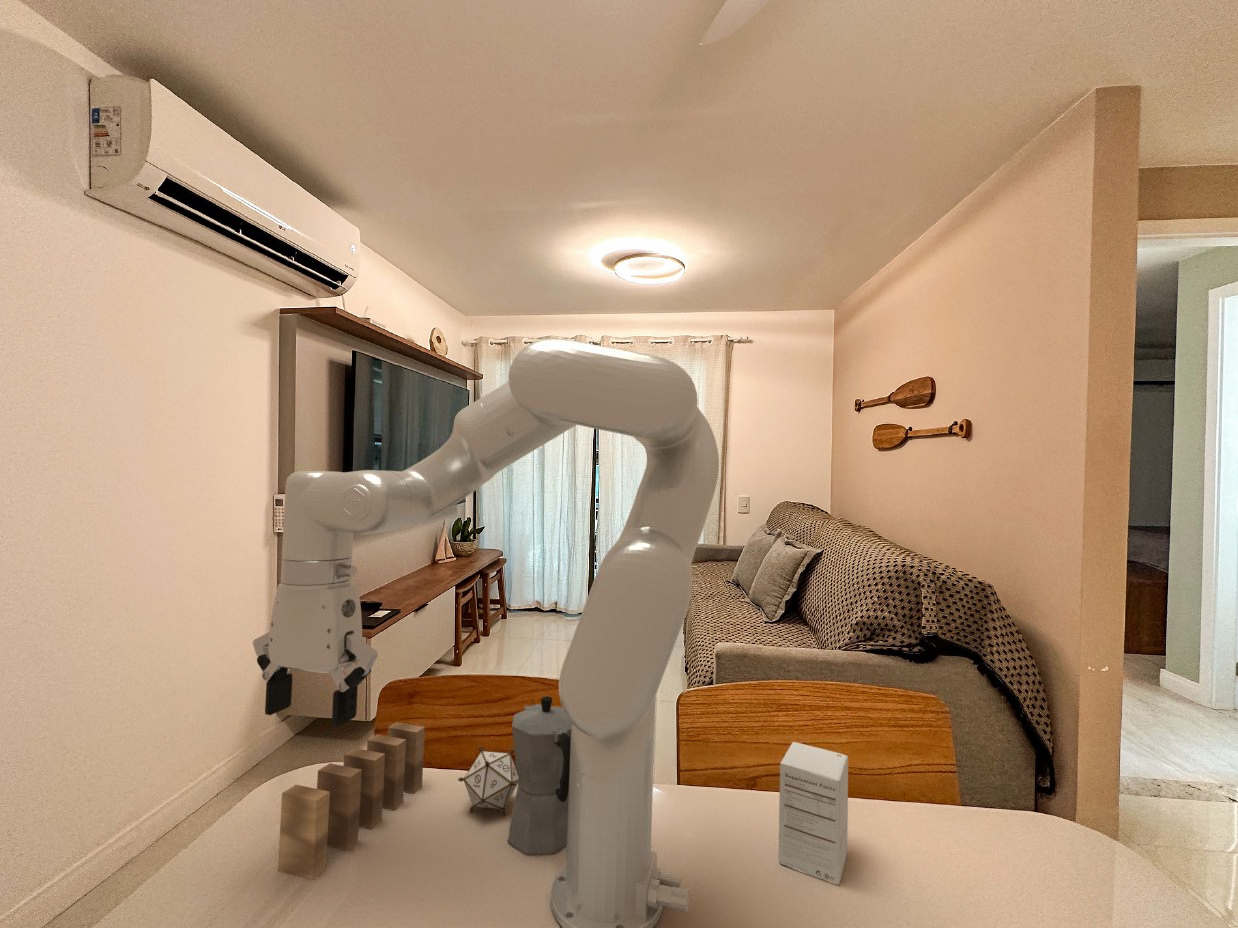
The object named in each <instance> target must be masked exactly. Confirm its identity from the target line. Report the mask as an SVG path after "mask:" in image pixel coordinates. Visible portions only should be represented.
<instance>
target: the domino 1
mask: <svg viewBox="0 0 1238 928" xmlns="http://www.w3.org/2000/svg"><path fill="white" fill-rule="evenodd" d="M329 798H330V792H329V791H324V790H320V789H317V788H313V787H309V786H304V785H300V784H294V785H293V786H291V787H290V788H288V789H287V790H285V791H283V792H282V793H281V805H280V807H281V808H280V824H279V825H280V826H279V827H280V828H279V841H278V842H279V844H278V858H277V859H278V860H277V861H278V863H277V864H278V865H277V872H280V873H285V874H287V875H292V876H295V877H299V878H302V879H306V880H311V881H314V879H316V878H317V877H318V876H319V875H321V873H323V872H324V871H325V870H326V869H327V855H328V853H327V851H328V846H327V837H328V817H329Z"/></svg>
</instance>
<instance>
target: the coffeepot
mask: <svg viewBox="0 0 1238 928" xmlns="http://www.w3.org/2000/svg"><path fill="white" fill-rule="evenodd" d="M552 703H553V697H551V696H542V697H541V698H540V704H538V703H537V704H536V703H534V704H530V705H524V710H522V711H519V712H516V713H515V714H513V718H512V724H511V725H512V726H511V729H512V730H511V731H512V739H513V748H514V759H515V761H514V762H515V767H516V771H517V775H518V776H519V780H518V784H517V786H516V792H515V798H514V803H513V807H512V813H511V819H510V824H509V831H508V837H507V842H508V843H509V844H510V845H511V847H513V848H514V849H515V850H517V851H519V853H520V852H521V853H523V854H526V855H530V856H531V855H532V856H545V855H551V854H555V853H558V852H560V851H561V850H563V849H565V848H567V830H568V802H569V774H570V747H571V727H572V722H571V721H570V720H569V718H568V717H567V715H566V714H565V712H564V709H563V707H561V706H552Z"/></svg>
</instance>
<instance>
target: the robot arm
mask: <svg viewBox="0 0 1238 928" xmlns="http://www.w3.org/2000/svg"><path fill="white" fill-rule="evenodd" d="M453 421H454V422H453V427H452V433H451V435H450V436H449V438H448V439H447V441H446V442H445V443H444V444H443V445H442V446H441V447H439V448H438V449H437V450H435V451H434V452H433V453H432V454H430V455H429V456H426V457H425V458H423V459H422V460H420V461H419V462H416V463H415V464H413V465H412V466H409V467H408V468H406V469H405V470H402V471H397V470H384V469H383V470H377V469H376V470H375V469H364V470H355V471H354V470H353V471H348V472H347V471H346V472H342V471H331V470H330V471H329V470H299V471H295V472H293V473H291V474H290V475H288V477H287V478H286V482H285V486H284V487H285V489H284V504H283V505H284V507H283V508H284V510H283V526H282V528H283V530H282V531H283V532H282V548H281V550H282V551H281V569H280V570H281V572H280V583H278V585H277V589H276V592H275V597H274V599H273V606H272V611H271V616H270V623H269V631H268V632H267V633H264V634H262V635H261V636H259V637H257V638H255V639H253V642H252V646H253V648H254V652H255V654H256V657H257V658H256V662H257V663H256V664H258V666H259V668H260V670H261V671H262V672H261V679H262V680H263V681H266V685H265V686H266V687H265V704H264V705H265V706H264V713H265V715H266V716H272V715H274V714H277V713H279V712H281V711H283V710H286V709H287V708H289V707H290V706H292V695H293V694H292V692H293V690H292V689H293V673H288V672H289V671H290V670H296V671H305V672H312V673H320V674H329V676H331V679H332V680H333V682H334V684H335V685H336V687H337V690H335V691H334V692H333V694H332V711H331V712H332V713H331V714H332V716H331V717H332V718H331V725H332V726H333V727H340V726H342V725H344V724H345V723H348V722H349V721H351V720H353V719H355V717H356V716H357V709H358V690H359V689H358V688H359V685H362V684H363V682H364V680H365V679H366V678H367V677H368V676H369V675H370V674H371V672H372V667H373V666H374V665H375V662H376V661H377V658H378V655H379V654H378V651H377V650H376V649H375V648H374V647H372V645H369V644H368V643H367V642H366V641H365V640H363V625H362V623H363V622H362V621H363V619H362V608H361V607H362V605H361V599H360V594H359V589H358V586H357V583H356V582H352V578H353V577H355V576H356V575H357V573H358V567H357V566H356V565H353V548H354V547H353V544H354V534H357V535H376V534H382V533H389V532H392V531H400V530H407V529H412V528H416V527H417V526H420V525H421V524H424V523H425V522H427V521H429V520H431V519H432V518H435V517H436V516H438V515H439V514H441V513H443V512H445V511H446V510H448V509H450V508H451V507H453V506H455V505H456V504H458V503H459V502H461V501H463V500H464V499H466V498H467V497H468V496H470V495H471V494H473V493H474V492H475V491H477V490H478V489H479V488H480V487H482V486H483V485H484V484H486V483H487V482H489V481H490V480H491V479H492V478H494V477H495V475H496V474H498V473H499V472H501V471H502V470H504V469H506V468H507V467H509V466H510V465H512V464H514V463H515V462H517V461H519V460H520V459H522V458H523V457H525V456H526V455H529V454H530V453H532V452H534V451H535V450H537V449H539V448H540V447H542V446H544V445H545V444H547V443H549V442H550V441H552V440H554V439H556V438H557V437H558V436H560V435H562V434H564V433H565V432H567V431H569V430H570V429H572V428H573V427H575V426H581V427H587V428H590V429H594V430H600V431H605V432H611V433H614V434H620V435H624V436H629V437H632V438H634V439H635V440H636V441H638V443H640V444H641V445H642V446H643V448H644V450H645V453H646V466H645V468H644V471H643V472H644V473H643V475H642V478H641V481H640V483H639V486H638V488H637V491H636V494H635V498H634V500H633V504H632V507H631V509H630V512H629V515H628V517H627V520H626V522H625V525H624V527H623V529H622V532H621V534H620V536H619V537H618V539H617V541H616V542H615V543H614V544H613V546H612V547H611V548H610V549H609V550H608V551H607V552H606V554H605V555H604V557H603V559H602V561H601V563H600V565H599V568H598V570H597V572H596V575H595V577H594V579H593V581H592V584H591V585H592V586H591V588H590V591H589V593H588V596H587V599H586V601H585V604H584V606H583V609H582V612H581V615H580V617H579V620H578V623H577V626H576V628H575V631H574V632H573V633H574V634H573V636H572V639H571V642H570V644H569V647H568V649H567V653H566V655H565V658H564V661H563V663H562V666H561V669H560V672H559V676H558V677H559V679H558V694H559V699H560V704H561V706H562V707H561V708H563V709H564V712H565V714H566V715H567V717H568V718H569V720H570V721H571V722H572V727H571V747H570V774H569V802H568V830H567V846H566V860H565V861H566V865H565V867H564V868H563V869H561V870H560V871H559V873H558V874H557V875H556V877H555V879H554V881H553V883H552V885H551V891H550V905H551V911H552V914H553V916H554V918H555V920H556V921H557V922H558V924H559V925H560V927H562V928H654V927H655V925H656V924H657V923H658V921H659V919H660V918H661V916H662V912H663V907H668V908H670V909H671V910H676V911H680V912H684V913H687V912H688V910H689V901H690V889H687V888H686V889H685V888H682V874H677V873H672V872H665V871H662V868H660V867H657V865H658V863H657V862H658V852H655V851H651V850H652V822H653V821H652V820H653V818H652V817H653V790H654V789H653V787H654V785H653V784H654V783H653V782H654V763H655V762H654V760H655V736H656V735H655V733H656V732H655V731H656V730H655V729H656V726H655V725H656V706H657V705H656V701H657V693H658V690H659V688H660V685H661V683H662V680H663V677H664V674H665V672H666V669H667V666H668V664H669V661H670V659H671V656H672V653H673V651H674V648H675V645H676V642H677V640H678V638H679V637H678V636H679V634H680V632H681V629H682V626H683V624H684V621H685V618H686V615H687V612H688V609H689V605H690V602H691V598H692V597H691V596H692V591H693V574H692V563H693V559H694V556H695V553H696V549H697V546H698V544H699V541H700V539H701V535H702V533H703V530H704V527H705V524H706V520H707V518H708V514H709V511H710V507H711V505H712V502H713V499H714V495H715V492H716V489H717V485H718V479H719V472H720V470H719V469H720V459H719V458H720V456H719V449H718V445H717V440H716V438H715V434H714V432H713V429H712V427H711V425H710V423H709V422H708V419H707V418H706V416H705V415H704V413H703V412H702V411H701V409H700V408H699V407H698V392H697V388H696V385H695V383H694V381H693V379H692V377H691V376H690V375H689V374H688V373H687V371H686V370H685V369H684V368H683V367H681V366H680V365H679V364H678V363H675V362H674V361H672V360H670V359H666V358H663V357H660V356H657V355H652V354H647V353H642V352H636V351H630V350H626V349H625V350H624V349H620V348H614V347H609V346H603V345H598V344H593V343H587V342H582V341H577V340H572V339H566V338H565V339H563V338H543V339H538V340H535V341H533V342H530V343H529V344H527V345H526V346H524V347H522V349H521V350H520V351H519V352H518V353H517V354H516V356H514V358H513V360H512V362H511V364H510V367H509V371H508V381H507V382H505V383H504V384H502V385H500V386H499V387H497V388H496V389H494V390H493V391H492V390H491V391H490V392H489V393H487V394H486V395H484V396H482V397H480V398H478V399H477V400H475V401H474V402H472V403H471V404H468V405H467V406H465V407H464V408H462V409H461V410H460V411H458V412H457V413H456V415H455V416H454V420H453ZM356 663H357V665H356ZM343 670H344V671H345V673H346V674H347V676H346V675H345V673H344V671H343Z"/></svg>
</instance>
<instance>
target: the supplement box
mask: <svg viewBox="0 0 1238 928" xmlns="http://www.w3.org/2000/svg"><path fill="white" fill-rule="evenodd" d="M848 793H849V756H848V755H846V754H842V753H839V752H836V751H832V750H828V749H824V748H820V747H817V746H816V747H815V746H812V745H807V744H803V743H799V742H796V741H792V743H791V744H790V746H789V747H788V749H787V751H786V752H785V755H784V756H783V758H782V760H781V761H780V763H779V800H778V801H779V805H778V806H779V809H778V811H779V812H778V813H779V814H778V864H780V863H781V864H784V865H786V866H789V867H791V868H795V869H797V870H800V871H802V872H805V873H807V874H810V875H812V876H816V877H818V878H821V879H824V880H826V881H830V882H832V883H835V884H837V885H836V886H839V885H840V884H841V880H842V875H843V872H844V867H845V864H846V860H847V857H848V856H847V855H848V853H847V851H848V839H849V838H848V837H849V836H848V834H849V831H848V821H849V819H848V818H849V816H848V813H849V807H848V806H849V804H848V803H849V796H848V795H849V794H848ZM781 864H780V865H781ZM786 866H785V867H786ZM791 868H790V869H791ZM802 872H801V873H802ZM807 874H806V875H807ZM810 875H809V876H810ZM812 876H811V877H812ZM818 878H817V879H818ZM826 881H825V882H826ZM832 883H831V884H832Z"/></svg>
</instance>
